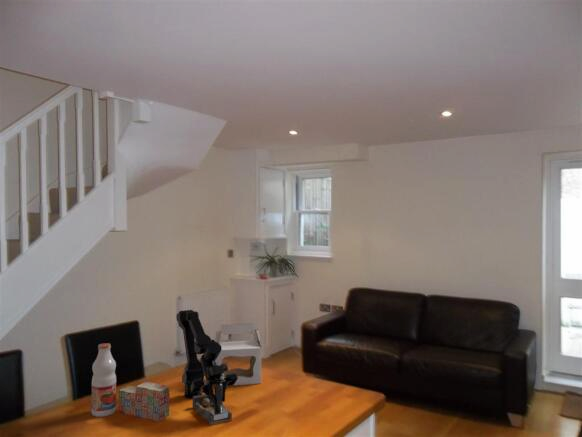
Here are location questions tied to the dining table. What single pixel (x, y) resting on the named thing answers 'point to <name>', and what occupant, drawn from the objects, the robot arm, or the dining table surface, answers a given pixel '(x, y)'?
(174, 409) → the dining table surface
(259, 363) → the gable box
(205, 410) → the press base
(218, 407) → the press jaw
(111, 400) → the fruit juice
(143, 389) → the stack of blocks
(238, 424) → the dining table surface
